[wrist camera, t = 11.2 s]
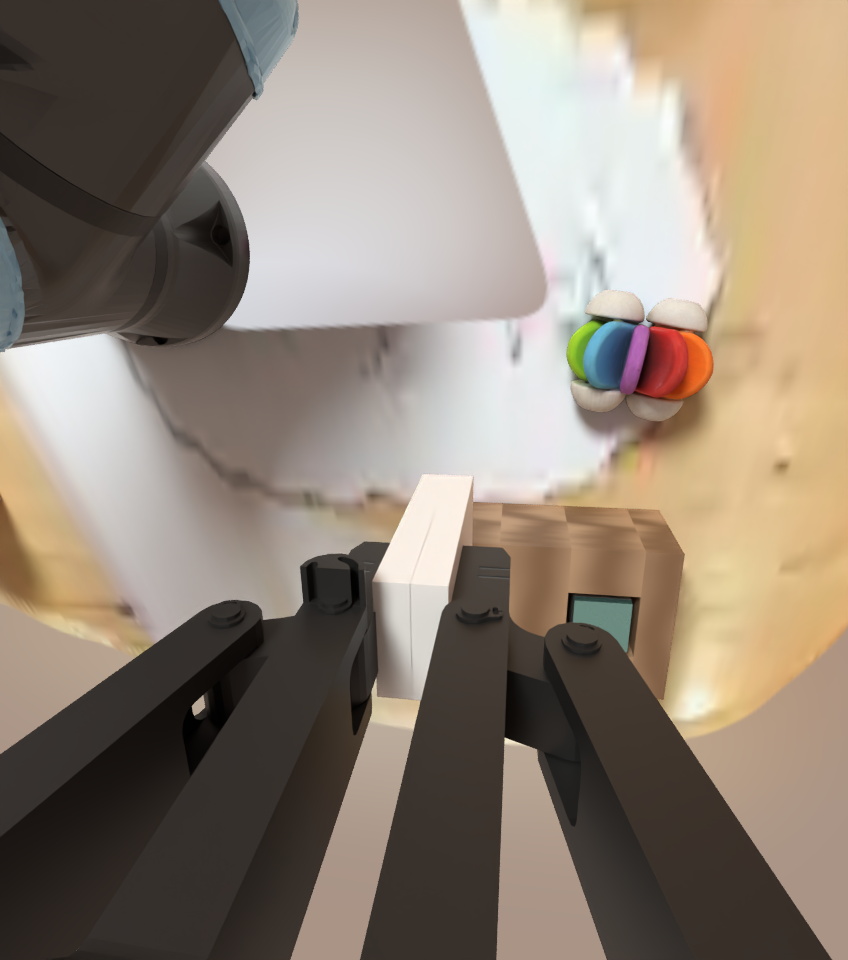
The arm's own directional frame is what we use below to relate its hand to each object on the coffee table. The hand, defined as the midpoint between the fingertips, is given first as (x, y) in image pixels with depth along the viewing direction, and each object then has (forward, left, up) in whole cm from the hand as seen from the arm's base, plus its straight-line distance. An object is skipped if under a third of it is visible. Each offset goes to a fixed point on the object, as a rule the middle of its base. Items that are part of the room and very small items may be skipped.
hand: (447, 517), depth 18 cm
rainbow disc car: (+7, +7, -31) cm, 32 cm away
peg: (+18, -8, -30) cm, 36 cm away
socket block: (+14, -11, -30) cm, 35 cm away
